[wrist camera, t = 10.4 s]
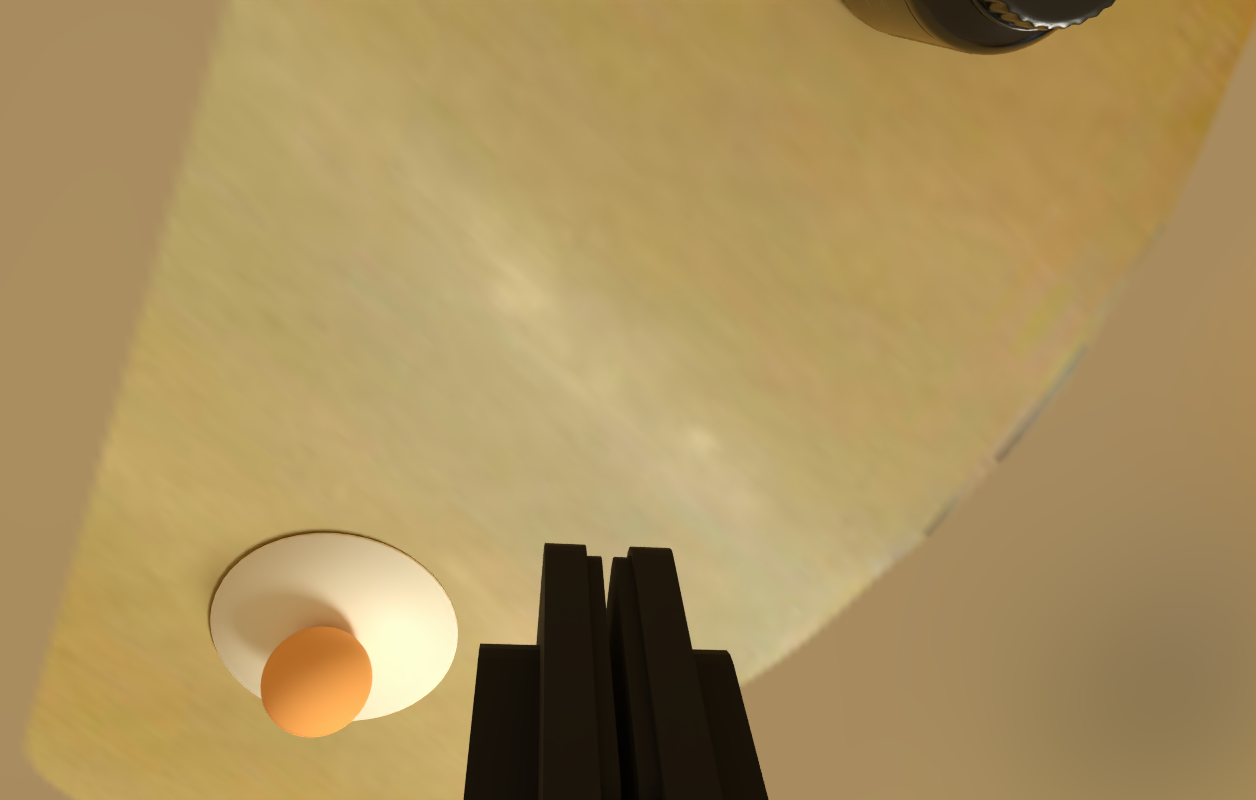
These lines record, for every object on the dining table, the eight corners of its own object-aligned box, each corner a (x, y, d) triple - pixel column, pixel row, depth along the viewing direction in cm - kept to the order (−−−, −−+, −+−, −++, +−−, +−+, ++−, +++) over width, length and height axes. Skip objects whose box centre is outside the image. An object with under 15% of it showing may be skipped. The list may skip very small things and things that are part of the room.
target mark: (198, 527, 44) (197, 529, 44) (460, 537, 46) (460, 540, 46) (223, 716, 50) (222, 719, 50) (455, 720, 51) (455, 722, 51)
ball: (244, 661, 42) (244, 758, 44) (361, 668, 43) (357, 763, 44) (280, 603, 47) (278, 691, 49) (383, 610, 48) (379, 697, 49)
